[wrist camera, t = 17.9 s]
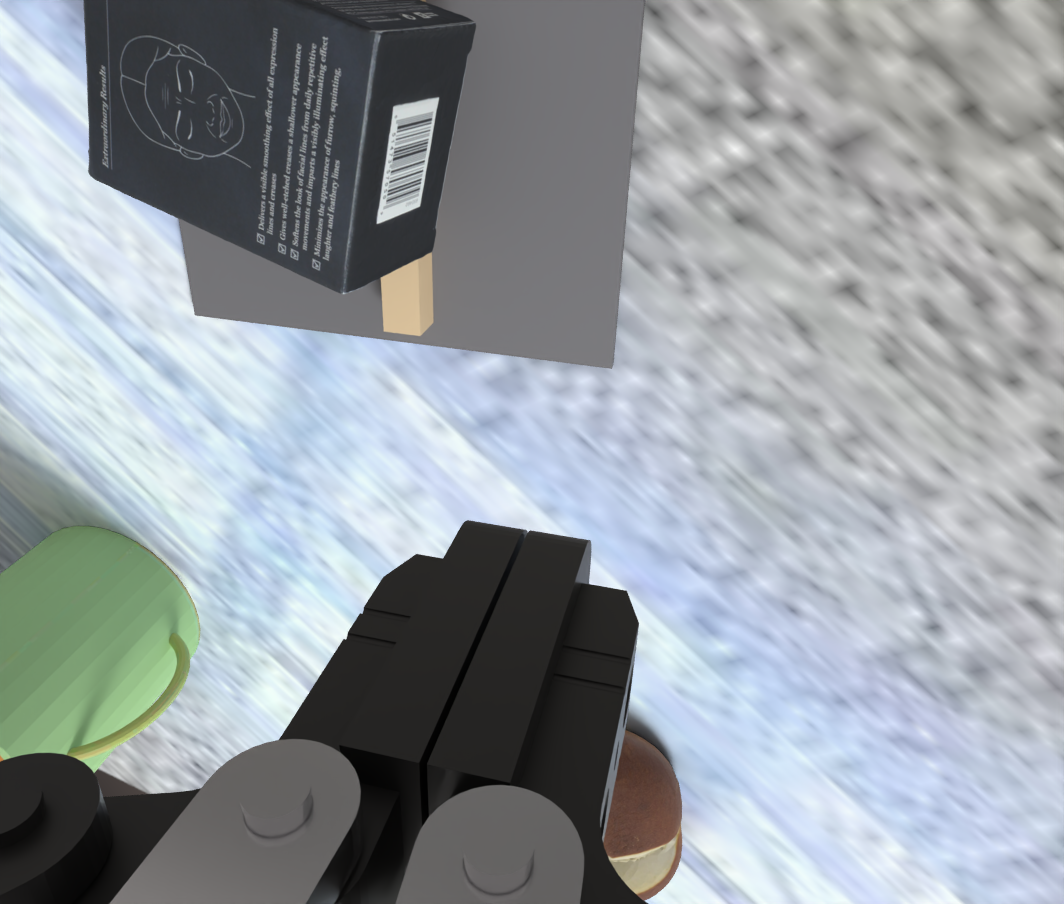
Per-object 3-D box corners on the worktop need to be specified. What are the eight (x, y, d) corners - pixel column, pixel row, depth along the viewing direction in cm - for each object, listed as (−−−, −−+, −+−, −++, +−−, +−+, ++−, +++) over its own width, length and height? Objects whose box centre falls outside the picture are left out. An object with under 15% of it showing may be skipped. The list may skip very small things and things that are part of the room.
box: (484, 21, 27) (211, -82, 29) (382, 32, 22) (68, -92, 24) (437, 255, 31) (203, 149, 33) (344, 303, 26) (81, 177, 29)
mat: (655, -126, 26) (648, -132, 24) (613, 364, 34) (605, 384, 32) (126, -135, 29) (89, -142, 28) (200, 312, 37) (174, 327, 36)
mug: (68, 665, 51) (-106, 837, 41) (10, 517, 46) (-205, 671, 36) (258, 694, 49) (122, 887, 38) (218, 540, 44) (49, 714, 33)
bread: (690, 724, 42) (681, 808, 38) (681, 874, 48) (672, 963, 43) (472, 693, 45) (441, 768, 40) (487, 838, 50) (461, 919, 46)
